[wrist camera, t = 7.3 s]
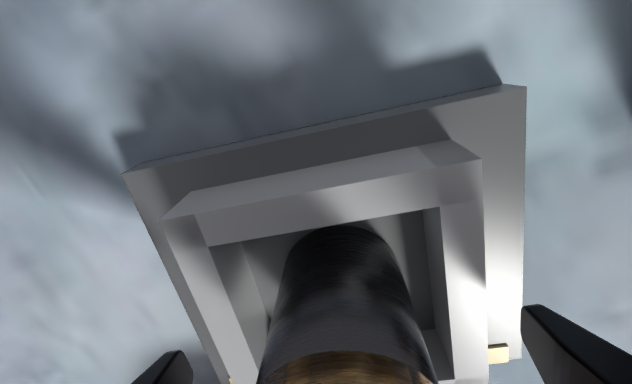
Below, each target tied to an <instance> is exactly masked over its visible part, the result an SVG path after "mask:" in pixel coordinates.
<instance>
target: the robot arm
mask: <svg viewBox="0 0 632 384" xmlns="http://www.w3.org/2000/svg"><path fill="white" fill-rule="evenodd" d="M520 332H521V337H522V340H523V342H524V344H525V346H526V348H527V350H528V352H529V354H530V356H531V358H532V360H533V362H534V364H535V366H536V367H537V369H538V371H539V373H540V375H541V377H542V379H543V381H544V383H545V384H632V355H630V354H629V353H627V352H625V351H623V350H621V349H620V348H618V347H616V346H614V345H613V344H611V343H609V342H607V341H605V340H604V339H602V338H600V337H598V336H597V335H595V334H593V333H591V332H589V331H588V330H586V329H584V328H582V327H581V326H579V325H577V324H575V323H573V322H572V321H570V320H568V319H566V318H565V317H563V316H561V315H559V314H557V313H556V312H554V311H552V310H550V309H549V308H547V307H545V306H543V305H540V304H535V305H527V306H523V307H522V308H521V320H520ZM192 381H193V370H192V368H191V366H190V364H189V362H188V360H187V358H186V356H185V354H184V353H183V352H182V351H181V350H177V351H169V352H166V353H165V354H164V355H163V356H161V357H160V358H159V359H158V360H157V361H156V362H155V363H154V364H153V365H151V366H150V367H149V368H148V369H147V370H146V371H145V372H144V373H142V374H141V375H140V376H139V377H138V378H137V379H136V380H135V381H134V382H132V383H131V384H192Z"/></svg>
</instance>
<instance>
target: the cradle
mask: <svg viewBox="0 0 632 384" xmlns="http://www.w3.org/2000/svg"><path fill="white" fill-rule="evenodd" d="M526 96H527V87H526V86H517V85H509V84H501V85H496V86H492V87H487V88H483V89H478V90H474V91H469V92H464V93H460V94H455V95H451V96H446V97H442V98H437V99H432V100H428V101H423V102H419V103H414V104H410V105H405V106H400V107H396V108H391V109H387V110H382V111H378V112H373V113H368V114H364V115H359V116H355V117H350V118H346V119H341V120H336V121H332V122H327V123H323V124H318V125H314V126H309V127H304V128H300V129H295V130H291V131H286V132H282V133H277V134H272V135H268V136H263V137H259V138H254V139H250V140H245V141H240V142H236V143H231V144H227V145H222V146H218V147H213V148H208V149H204V150H199V151H195V152H190V153H186V154H181V155H176V156H172V157H167V158H163V159H158V160H154V161H149V162H144V163H141V164H139V165H137V166H135V167H133V168H132V169H130V170H128V171H126V172H124V173H122V174H121V176H122V178H123V181H124V183H125V185H126V187H127V189H128V191H129V193H130V195H131V197H132V199H133V201H134V203H135V206H136V208H137V210H138V212H139V214H140V216H141V218H142V220H143V222H144V224H145V226H146V229H147V231H148V233H149V235H150V237H151V239H152V241H153V243H154V245H155V247H156V249H157V251H158V254H159V256H160V258H161V260H162V262H163V264H164V266H165V268H166V270H167V272H168V274H169V276H170V279H171V281H172V283H173V285H174V287H175V289H176V291H177V293H178V295H179V297H180V299H181V302H182V304H183V306H184V308H185V310H186V312H187V314H188V316H189V318H190V320H191V322H192V324H193V327H194V329H195V331H196V333H197V335H198V337H199V339H200V341H201V343H202V345H203V347H204V350H205V352H206V354H207V356H208V358H209V360H210V362H211V364H212V366H213V368H214V370H215V372H216V375H217V377H218V379H219V381H220V383H221V384H256V381H257V377H258V373H259V369H260V365H261V361H262V357H263V352H264V348H265V344H266V340H267V336H268V332H269V328H270V323H271V319H272V315H273V311H274V307H275V303H276V299H277V294H278V290H279V286H280V282H281V278H282V274H283V270H284V265H285V261H286V258H287V256H288V254H289V252H290V251H291V249H292V248H293V246H294V245H295V244H296V243H297V242H298V241H299V240H300V239H301V238H303V237H304V236H306V235H307V234H309V233H311V232H313V231H315V230H318V229H320V228H324V227H328V226H335V225H348V226H355V227H359V228H363V229H365V230H368V231H370V232H372V233H374V234H376V235H377V236H379V237H380V238H382V239H383V240H384V241H385V242H386V243H387V244H388V245H389V246H390V247H391V249H392V250H393V252H394V253H395V255H396V258H397V260H398V263H399V266H400V269H401V272H402V275H403V278H404V281H405V284H406V287H407V290H408V293H409V296H410V299H411V302H412V305H413V308H414V311H415V314H416V317H417V320H418V323H419V326H420V329H421V332H422V335H423V338H424V341H425V344H426V347H427V350H428V353H429V356H430V359H431V362H432V365H433V368H434V371H435V374H436V377H437V380H438V383H439V384H489V364H496V363H505V362H509V360H510V359H519V358H521V342H522V337H521V332H520V320H521V308H522V293H523V244H524V194H525V145H526Z"/></svg>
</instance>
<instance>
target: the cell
mask: <svg viewBox="0 0 632 384" xmlns="http://www.w3.org/2000/svg"><path fill="white" fill-rule="evenodd" d="M256 384H439V383H438V380H437V377H436V374H435V371H434V368H433V365H432V362H431V359H430V356H429V353H428V350H427V347H426V344H425V341H424V338H423V335H422V332H421V329H420V326H419V323H418V320H417V317H416V314H415V311H414V308H413V305H412V302H411V299H410V296H409V293H408V290H407V287H406V284H405V281H404V278H403V275H402V272H401V269H400V266H399V263H398V260H397V258H396V255H395V253H394V252H393V250H392V249H391V247H390V246H389V245H388V244H387V243H386V242H385V241H384V240H383V239H382V238H380V237H379V236H377V235H376V234H374V233H372V232H370V231H368V230H365V229H363V228H359V227H355V226H348V225H335V226H328V227H324V228H320V229H318V230H315V231H313V232H311V233H309V234H307V235H306V236H304V237H303V238H301V239H300V240H299V241H298V242H297V243H296V244H295V245H294V246H293V248H292V249H291V251H290V252H289V254H288V256H287V258H286V261H285V265H284V270H283V274H282V278H281V282H280V286H279V290H278V294H277V299H276V303H275V307H274V311H273V315H272V319H271V323H270V328H269V332H268V336H267V340H266V344H265V348H264V352H263V357H262V361H261V365H260V369H259V373H258V377H257V381H256Z"/></svg>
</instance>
